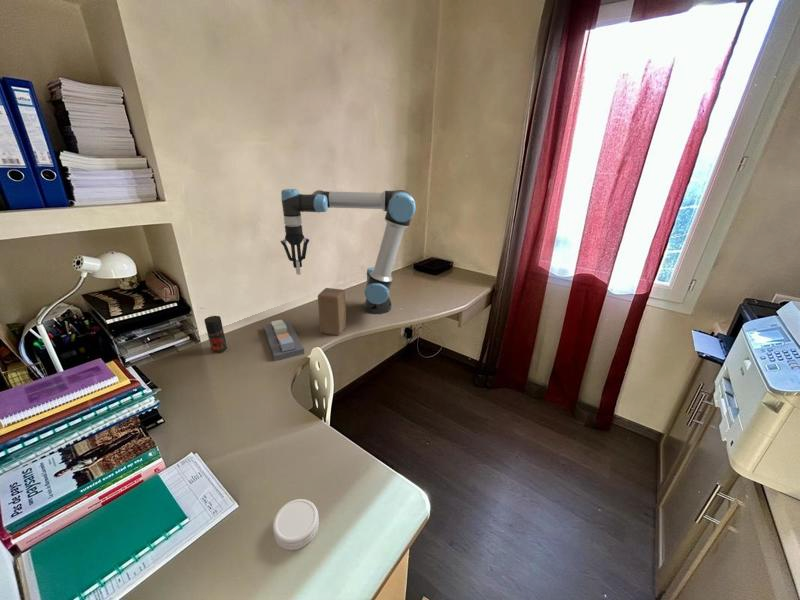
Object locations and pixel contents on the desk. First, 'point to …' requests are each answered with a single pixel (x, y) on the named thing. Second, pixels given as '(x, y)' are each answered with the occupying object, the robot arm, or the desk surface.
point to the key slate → (286, 343)
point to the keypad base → (276, 347)
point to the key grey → (276, 323)
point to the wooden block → (332, 311)
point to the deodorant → (215, 334)
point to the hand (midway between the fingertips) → (298, 273)
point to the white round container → (296, 524)
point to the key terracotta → (282, 336)
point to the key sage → (280, 328)
